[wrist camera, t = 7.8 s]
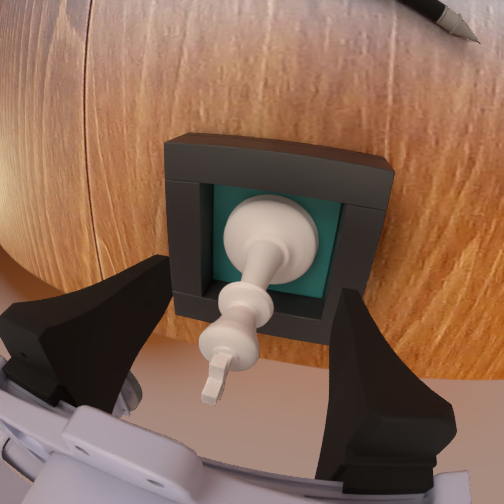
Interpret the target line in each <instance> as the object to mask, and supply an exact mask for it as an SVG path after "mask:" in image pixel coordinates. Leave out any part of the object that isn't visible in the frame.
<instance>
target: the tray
mask: <svg viewBox="0 0 504 504" xmlns="http://www.w3.org/2000/svg"><path fill="white" fill-rule="evenodd" d="M164 165H165V194H166V214H167V230H168V244H169V257H170V269H171V280H172V290H173V297H174V307H175V314H176V315H180V316H184V317H188V318H192V319H196V320H201V321H205V322H209V323H213V322H215V321H216V320H218V319H219V318H220V317H221V316H222V314H221V312H220V310H219V306H218V298H219V294H220V292H221V290H222V289H223V288H224V287H225V286H226V285H228V284H230V283H233V282H239V281H241V278H242V273H241V272H240V271H239V270H237V269H236V267H235V266H234V265H233V264H232V263H231V261H230V259H229V258H228V256H227V253H226V251H225V247H224V239H223V238H224V230H225V226H226V223H227V220H228V218H229V216H230V214H231V213H232V211H233V210H234V209H235V208H236V207H237V206H238V205H239V204H240V203H241V202H243V201H244V200H246V199H248V198H251V197H254V196H257V195H264V194H272V195H279V196H283V197H286V198H289V199H291V200H293V201H295V202H296V203H298V204H299V205H301V206H302V207H303V208H304V209H305V210H306V211H307V212H308V213H309V214H310V216H311V217H312V219H313V221H314V223H315V225H316V227H317V231H318V236H319V245H318V250H317V253H316V256H315V258H314V261H313V263H312V265H311V266H310V268H309V269H308V270H307V271H306V272H305V273H304V274H303V275H302V276H300V277H299V278H297V279H295V280H293V281H290V282H287V283H283V284H269V286H268V287H267V289H266V292H267V293H268V294H269V296H270V297H271V299H272V301H273V305H274V311H273V314H272V316H271V318H270V319H269V320H268V322H267V323H266V324H264V325H263V326H261V327H259V328H256V333H261V334H267V335H272V336H277V337H283V338H288V339H294V340H299V341H305V342H311V343H317V344H323V345H330V336H331V327H332V323H333V320H334V316H335V313H336V309H337V306H338V302H339V298H340V295H341V291H342V287H343V288H349V289H355V290H358V292H359V293H360V295H361V297H363V294H364V291H365V288H366V284H367V281H368V278H369V275H370V271H371V268H372V264H373V261H374V257H375V254H376V250H377V246H378V243H379V239H380V235H381V231H382V227H383V223H384V219H385V215H386V210H387V207H388V202H389V198H390V194H391V189H392V184H393V180H394V175H395V171H394V170H393V169H392V167H391V166H390V164H389V163H388V162H387V160H386V159H385V158H384V157H380V156H375V155H370V154H365V153H360V152H354V151H349V150H343V149H337V148H331V147H325V146H319V145H312V144H305V143H298V142H290V141H282V140H274V139H265V138H255V137H245V136H233V135H220V134H205V133H186V134H184V135H181V136H179V137H176V138H174V139H172V140H169V141H167V142H164Z"/></svg>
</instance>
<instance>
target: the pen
mask: <svg viewBox="0 0 504 504" xmlns="http://www.w3.org/2000/svg"><path fill="white" fill-rule="evenodd" d="M400 1H401V2H403V3H405V4H407V5H408V6H410V7H412V8H413V9H415V10H417V11H418V12H420V13H421V14H423V15H425V16H426V17H428V18H429V19H431V20H432V21H434V22H435V23H436V24H439V25H441V26H442V27H444V28H445V29H446V30H448V33H449V34H456V35H459V36H461V37H464V38H467V39H469V40H472V41H474V42H478V41H477V37H476V36H475V35H474V33H473V32H472V31H471V29H470V28H469V27H468V25H467V24H466V23H465V21H464V20H463V19H462V15H460V14H456V13H455V12H453V11H452V10H451V9H449V8H448V7H447V6H446V5H444V4H443V3H441V2H440V1H438V0H400ZM478 43H479V42H478ZM479 44H480V43H479Z"/></svg>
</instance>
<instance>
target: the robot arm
mask: <svg viewBox="0 0 504 504" xmlns="http://www.w3.org/2000/svg"><path fill="white" fill-rule="evenodd" d="M172 296H173V291H172V281H171V270H170V258H169V257H168V256H162V255H154V256H152V257H150V258H148V259H146V260H144V261H142V262H140V263H138V264H136V265H134V266H132V267H130V268H128V269H126V270H124V271H122V272H120V273H118V274H116V275H114V276H112V277H110V278H107V279H105V280H103V281H101V282H99V283H96V284H94V285H92V286H89V287H86V288H83V289H81V290H78V291H75V292H71V293H68V294H65V295H61V296H57V297H52V298H48V299H43V300H36V301H28V302H18V303H13V304H12V305H11V306H10V307H9V308H8V309H7V310H5V311H4V312H3V313H2V314H1V315H0V337H1V339H2V341H3V343H4V345H5V347H6V348H7V350H8V352H9V354H10V356H11V358H10V359H9V361H8V362H7V360H6V359H5V358H4V357H3V356H1V355H0V504H472V501H471V488H470V477H469V471H467V470H464V471H455V472H445V473H440V474H437V475H434V476H433V467H435V466H436V465H437V460H436V455H437V454H439V453H440V452H441V451H442V450H443V449H444V448H445V447H446V446H447V445H448V444H449V443H450V442H451V441H452V440H453V438H454V437H455V435H456V432H457V428H456V422H455V416H454V412H453V408H452V405H451V404H450V403H449V402H447V401H446V400H445V399H443V398H442V397H440V396H439V395H438V394H436V393H435V392H434V391H432V390H431V389H430V388H429V387H428V386H427V385H425V384H424V383H423V382H422V381H421V380H420V379H419V378H418V377H417V376H416V375H415V374H414V373H413V372H412V371H411V370H410V369H409V368H408V367H407V366H406V365H405V364H404V363H403V362H402V360H401V359H400V358H399V357H398V356H397V354H396V353H395V352H394V351H393V349H392V348H391V347H390V345H389V344H388V343H387V341H386V340H385V338H384V337H383V335H382V334H381V332H380V330H379V329H378V327H377V325H376V324H375V322H374V320H373V318H372V317H371V315H370V313H369V311H368V309H367V307H366V305H365V303H364V301H363V299H362V297H361V295H360V293H359V292H358V290H355V289H349V288H343V287H342V291H341V295H340V298H339V302H338V306H337V309H336V313H335V316H334V320H333V323H332V327H331V336H330V345H329V403H328V410H327V417H326V424H325V430H324V436H323V442H322V447H321V452H320V457H319V462H318V467H317V471H316V475H315V479H307V478H299V477H293V476H286V475H280V474H274V473H268V472H263V471H258V470H253V469H248V468H243V467H239V466H235V465H230V464H226V463H222V462H218V461H215V460H211V459H207V458H203V457H200V456H198V455H197V454H196V452H195V451H194V450H192V449H191V448H189V447H188V446H186V445H185V444H183V443H181V442H179V441H177V440H175V439H172V438H170V437H168V436H165V435H162V434H160V433H157V432H154V431H151V430H148V429H146V428H143V427H140V426H138V425H135V424H132V423H130V422H127V421H125V420H123V419H120V418H121V417H122V415H126V416H130V411H129V409H128V407H127V405H126V402H125V400H124V398H123V395H122V393H121V389H122V386H123V384H124V382H125V379H126V377H127V375H128V373H129V371H130V369H131V366H132V364H133V362H134V360H135V358H136V356H137V355H138V353H139V351H140V350H141V348H142V347H143V345H144V344H145V342H146V341H147V339H148V338H149V336H150V334H151V333H152V332H153V330H154V329H155V327H156V326H157V324H158V322H159V321H160V319H161V318H162V316H163V315H164V313H165V311H166V309H167V307H168V305H169V303H170V301H171V298H172ZM2 449H3V450H2ZM3 459H4V460H5V461H6V462H7V463H9V464H10V465H11V466H12V467H13V468H15V469H16V470H17V471H18V472H20V473H21V474H22V475H24V476H25V477H26V478H28V479H29V480H30V481H32V482H33V485H30V484H29V483H27V482H26V481H25V480H23V479H22V478H21V477H19V476H18V475H17V474H16V473H14V472H13V471H12V470H11V469H9V467H8V466H7V465H6V464H5V463H4V461H3Z"/></svg>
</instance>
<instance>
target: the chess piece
mask: <svg viewBox="0 0 504 504" xmlns="http://www.w3.org/2000/svg"><path fill="white" fill-rule="evenodd" d="M223 239H224V247H225V251H226V253H227V256H228V258H229V259H230V261H231V263H232V264H233V265H234V266H235V267H236V269H237V270H239V271H240V272H241V273H242V278H241V281H239V282H233V283H230V284H228V285H226V286H225V287H224V288H223V289H222V290H221V292H220V294H219V298H218V306H219V310H220V312H221V314H222V316H221V317H220V318H219V319H218V320H216V321H215V322H213V323H212V324H211V325H209V326H208V327H207V328H206V329H205V330H204V331H203V332H202V334H201V335H200V338H199V348H200V351H201V353H202V354H203V356H204V357H205V358H206V359H207V360H208V361H209V362H210V364H209V375H208V379H207V382H206V384H205V387H204V389H203V391H202V394H201V402H204V403H207V404H211V405H214V406H216V403H217V401H218V400H220V399H221V397H222V394H223V391H224V386H225V379H226V376H227V374H228V371H244V370H247V369H249V368H251V367H252V366H254V365H255V363H256V362H257V360H258V357H259V344H258V339H257V334H256V328H259V327H261V326H263V325H264V324H266V323H267V322H268V320H269V319H270V318H271V316H272V314H273V311H274V305H273V301H272V299H271V297H270V296H269V294H268V293H267V292H266V289H267V287H268V286H269V284H283V283H287V282H290V281H293V280H295V279H297V278H299V277H300V276H302V275H303V274H304V273H305V272H306V271H307V270H308V269H309V268H310V266H311V265H312V263H313V261H314V258H315V256H316V253H317V250H318V245H319V236H318V231H317V227H316V225H315V223H314V221H313V219H312V217H311V216H310V214H309V213H308V212H307V211H306V210H305V209H304V208H303V207H302V206H301V205H299V204H298V203H296V202H295V201H293V200H291V199H289V198H286V197H283V196H279V195H272V194H264V195H257V196H254V197H251V198H248V199H246V200H244V201H243V202H241V203H240V204H239V205H238V206H237V207H236V208H235V209H234V210H233V211H232V213H231V214H230V216H229V218H228V220H227V223H226V226H225V230H224V238H223Z"/></svg>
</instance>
